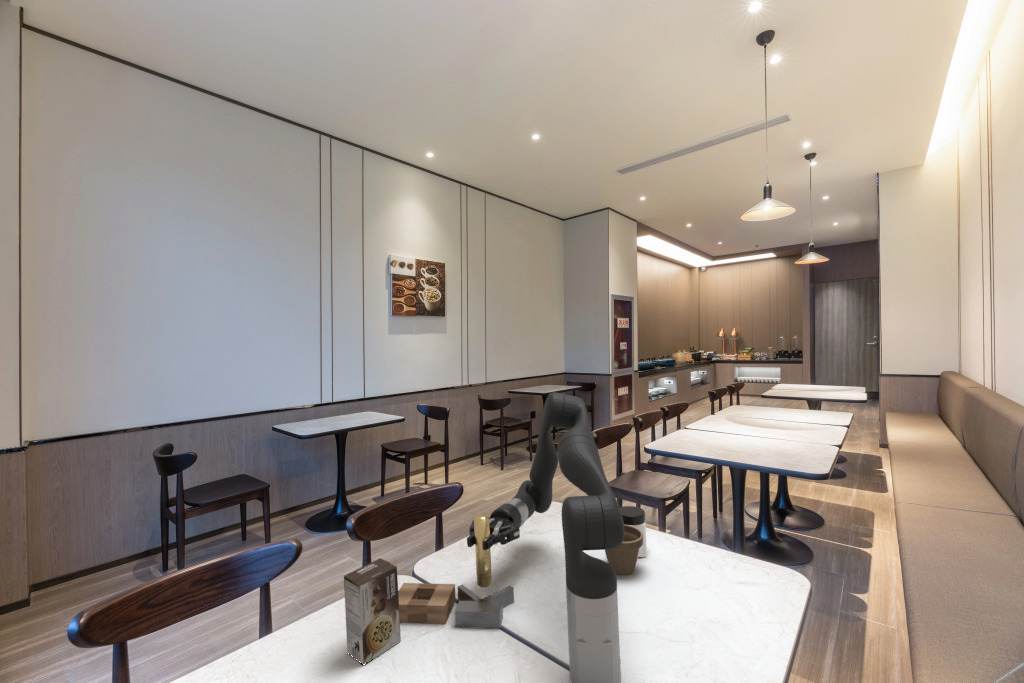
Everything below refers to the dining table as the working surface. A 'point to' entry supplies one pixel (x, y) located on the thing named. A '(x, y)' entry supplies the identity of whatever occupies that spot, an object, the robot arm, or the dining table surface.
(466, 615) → the v block
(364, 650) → the coffee box
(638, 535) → the flower pot
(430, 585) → the hollow rectangular block
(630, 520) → the jar
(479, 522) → the axle
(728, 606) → the dining table surface
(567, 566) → the robot arm
